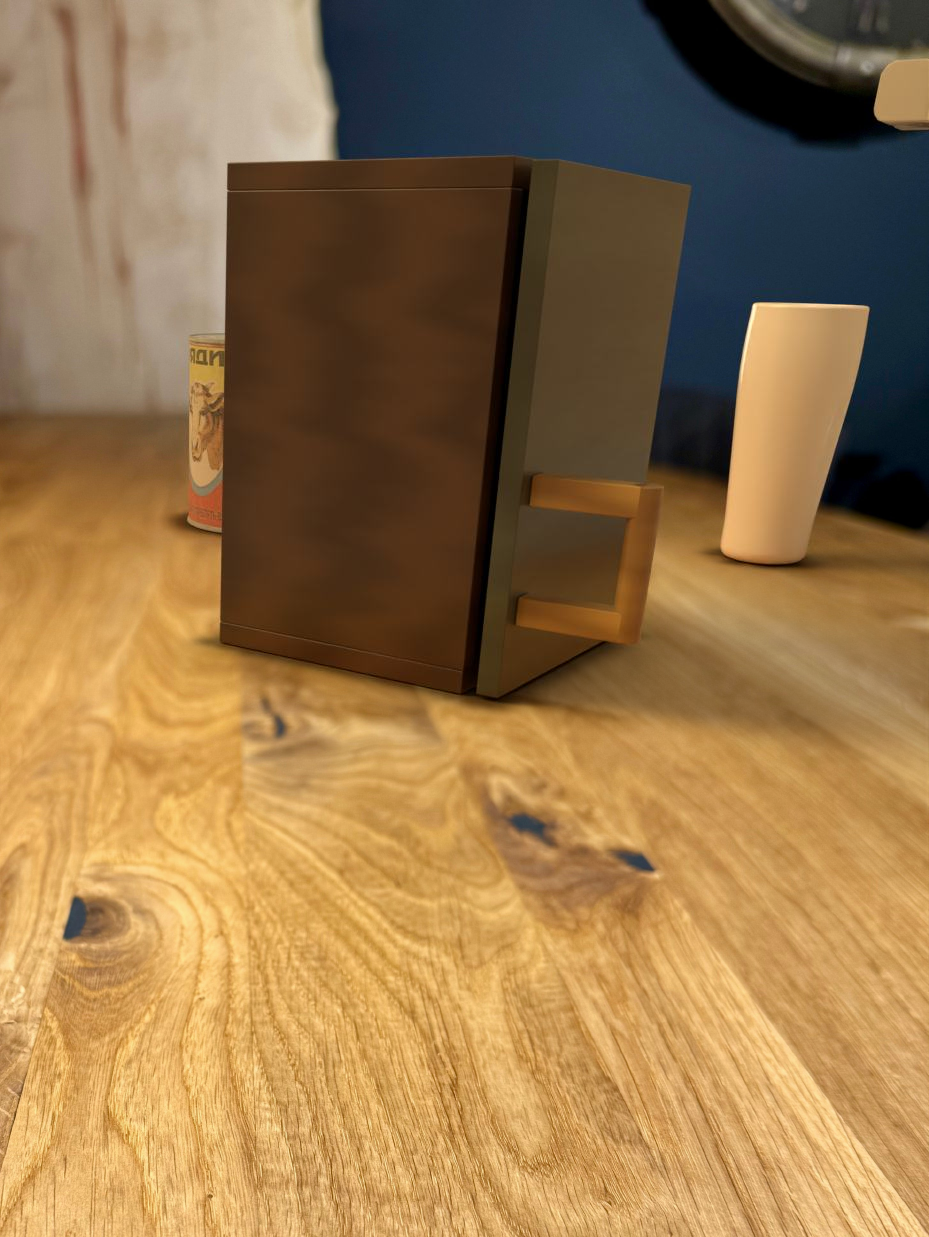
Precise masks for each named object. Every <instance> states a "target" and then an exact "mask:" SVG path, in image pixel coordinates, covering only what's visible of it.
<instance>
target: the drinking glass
mask: <svg viewBox="0 0 929 1237" xmlns="http://www.w3.org/2000/svg"><path fill="white" fill-rule="evenodd" d="M870 309H871V308H870V307H869V306H868V305H861V304H860V305H856V304H832V303H803V302H802V303H801V302H754V303H753V304H752V306H751V310H750V314H749V318H748V323H747V328H746V333H745V337H744V342H743V347H742V353H741V360H740V365H739V372H738V378H737V379H738V380H737V389H736V400H735V408H734V409H735V410H734V420H733V431H732V442H731V451H730V452H731V453H730V462H729V474H728V484H727V493H726V501H725V502H726V504H725V511H724V512H725V513H724V521H723V526H722V531H721V537H720V544H719V546H720V551H721V552H722V554H723V556H726V557H728V558H730V559H733V560H734V561H735V560H736V561H740V562H745V563H750V564H759V565H790V564H795V563H798V562H800V561H801V560H803V559H804V558H805V557H806V555H807V553H808V549H809V546H810V541H811V535H812V531H813V527H814V524H815V523H814V522H815V519H816V515H817V512H818V509H819V505H820V502H821V500H822V499H821V498H822V496H823V493H824V489H825V485H826V481H827V478H828V474H829V471H830V468H831V465H832V461H833V459H834V456H835V455H834V454H835V452H836V448H837V445H838V441H839V437H840V435H841V432H842V428H843V424H844V421H845V418H846V415H847V411H848V408H849V405H850V402H851V399H852V398H851V397H852V394H853V391H854V388H855V385H856V384H855V383H856V379H857V376H858V372H859V367H860V363H861V360H862V355H863V349H864V344H865V338H866V333H867V327H868V320H869V313H870Z"/></svg>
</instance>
